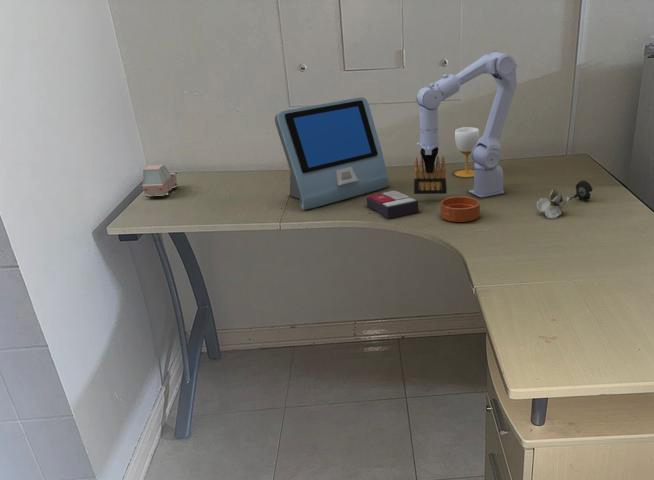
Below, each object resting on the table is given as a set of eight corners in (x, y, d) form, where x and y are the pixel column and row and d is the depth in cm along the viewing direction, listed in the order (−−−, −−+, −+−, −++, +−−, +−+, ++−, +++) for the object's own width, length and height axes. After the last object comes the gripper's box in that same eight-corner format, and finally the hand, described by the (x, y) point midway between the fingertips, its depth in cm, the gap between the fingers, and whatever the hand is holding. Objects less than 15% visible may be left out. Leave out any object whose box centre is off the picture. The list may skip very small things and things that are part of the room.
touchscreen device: (307, 212, 205) (294, 115, 191) (276, 201, 218) (261, 109, 204) (391, 188, 225) (385, 98, 210) (358, 179, 238) (350, 94, 224)
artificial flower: (596, 206, 207) (604, 179, 200) (548, 230, 197) (554, 203, 190) (575, 193, 212) (583, 166, 204) (527, 216, 201) (533, 189, 194)
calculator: (395, 189, 212) (418, 198, 201) (396, 201, 214) (418, 212, 203) (365, 195, 208) (387, 205, 196) (367, 208, 210) (388, 218, 198)
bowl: (466, 207, 206) (466, 194, 203) (486, 218, 196) (487, 204, 194) (433, 214, 201) (433, 200, 199) (453, 226, 192) (453, 211, 189)
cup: (451, 172, 241) (451, 128, 233) (473, 169, 243) (474, 126, 235) (459, 178, 234) (459, 133, 225) (482, 175, 236) (483, 131, 228)
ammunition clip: (446, 191, 211) (446, 155, 205) (446, 193, 210) (446, 156, 204) (414, 192, 212) (413, 155, 206) (414, 194, 210) (412, 157, 204)
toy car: (182, 186, 235) (176, 158, 230) (169, 199, 222) (162, 170, 217) (156, 187, 235) (150, 159, 230) (142, 200, 222) (134, 171, 217)
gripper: (417, 123, 207) (418, 165, 214) (414, 134, 194) (416, 178, 201) (439, 123, 206) (440, 165, 213) (438, 133, 194) (438, 178, 201)
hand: (429, 171), depth 207 cm, fingers closed on ammunition clip, 2 cm apart
